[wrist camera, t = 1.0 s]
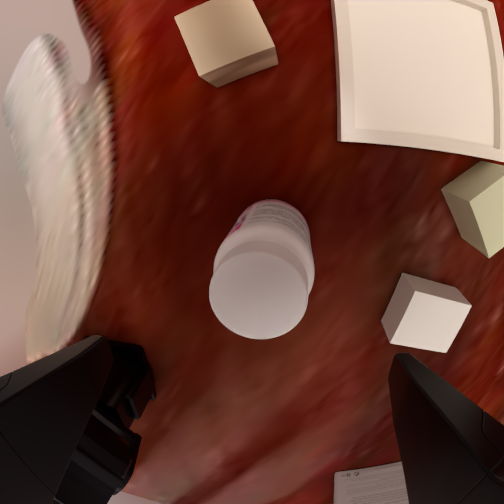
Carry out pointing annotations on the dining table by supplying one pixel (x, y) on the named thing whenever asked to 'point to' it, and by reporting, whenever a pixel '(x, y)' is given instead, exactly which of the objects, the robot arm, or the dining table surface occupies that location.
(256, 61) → the beech block
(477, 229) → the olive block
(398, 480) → the supplement box
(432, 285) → the white block
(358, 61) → the tray
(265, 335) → the pill bottle
